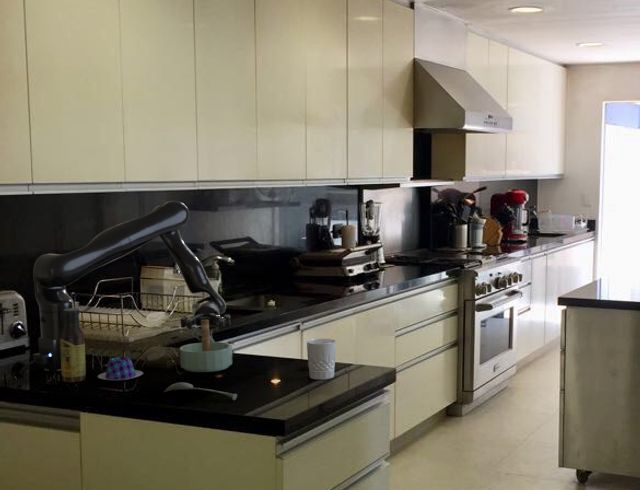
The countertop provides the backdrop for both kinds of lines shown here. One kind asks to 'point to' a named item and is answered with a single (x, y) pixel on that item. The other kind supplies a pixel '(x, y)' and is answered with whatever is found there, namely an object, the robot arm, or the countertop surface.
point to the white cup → (321, 358)
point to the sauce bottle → (72, 348)
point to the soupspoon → (190, 387)
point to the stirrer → (205, 335)
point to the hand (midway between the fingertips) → (205, 325)
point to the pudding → (120, 370)
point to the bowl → (206, 357)
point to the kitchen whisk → (201, 335)
